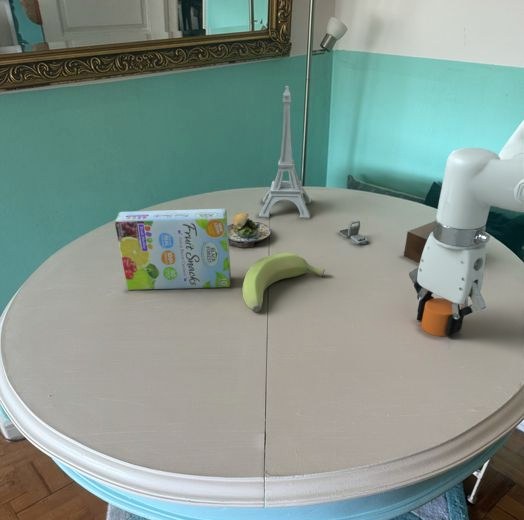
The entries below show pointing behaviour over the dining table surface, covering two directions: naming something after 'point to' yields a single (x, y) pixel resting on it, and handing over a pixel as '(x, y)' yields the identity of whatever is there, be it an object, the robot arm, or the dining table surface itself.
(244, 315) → the dining table surface
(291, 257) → the banana
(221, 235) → the snack box
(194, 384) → the dining table surface
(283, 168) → the eiffel tower
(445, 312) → the orange puck
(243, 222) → the burger
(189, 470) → the dining table surface
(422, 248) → the walnut block
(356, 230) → the strap clip
